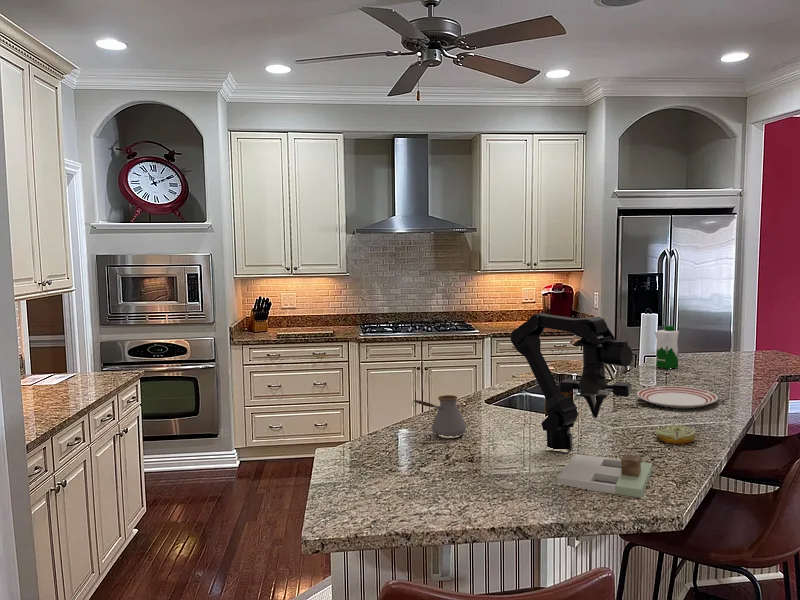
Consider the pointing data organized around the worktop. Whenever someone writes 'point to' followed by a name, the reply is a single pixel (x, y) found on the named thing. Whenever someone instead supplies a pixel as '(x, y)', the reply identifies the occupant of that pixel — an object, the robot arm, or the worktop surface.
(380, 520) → the worktop surface
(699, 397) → the dinner plate
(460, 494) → the worktop surface
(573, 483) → the trap deck
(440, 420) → the coffee pot
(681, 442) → the decorated donut
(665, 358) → the milk carton
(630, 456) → the walnut block
